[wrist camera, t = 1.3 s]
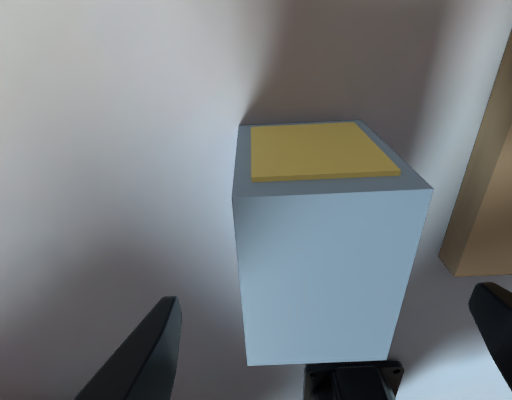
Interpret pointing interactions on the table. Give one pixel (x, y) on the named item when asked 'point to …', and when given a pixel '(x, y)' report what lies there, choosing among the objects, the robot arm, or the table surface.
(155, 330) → the robot arm
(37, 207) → the table surface
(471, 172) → the shelf board
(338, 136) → the box
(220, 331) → the table surface
